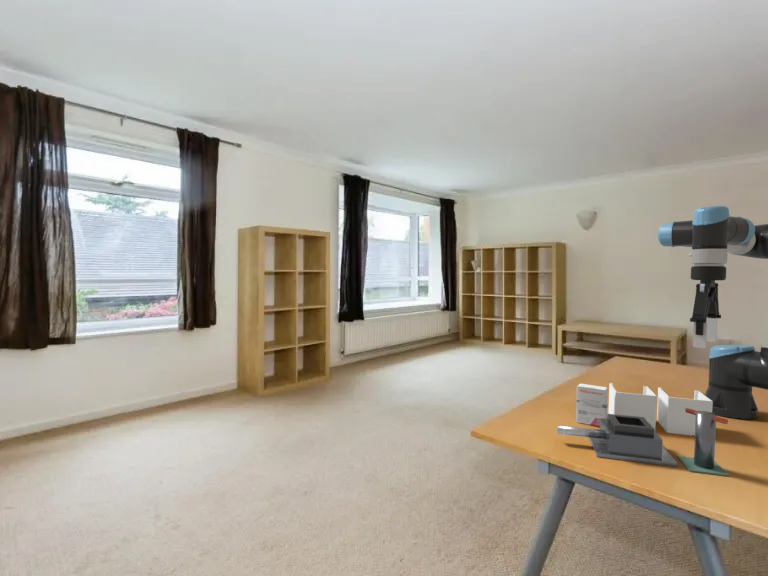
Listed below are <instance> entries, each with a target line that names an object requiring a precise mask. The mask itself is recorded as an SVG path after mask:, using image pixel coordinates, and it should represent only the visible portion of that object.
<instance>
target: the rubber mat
mask: <svg viewBox="0 0 768 576" xmlns="http://www.w3.org/2000/svg"><path fill="white" fill-rule="evenodd" d="M676 457H677V459H678V460H679V461H680V462H681V464H682V465H683V466H684V467H685V469H687V470H688V472H690V473H691V472H692V473H698V474H707V475H714V476H715V475H716V476H722V477H729V478H730V474H729V473H728V472H727V471H726V470H725V469H724V468H723V467H721V466H720V465H719V464H718V463H717V462H716V461H715V460H714V468H713V469H705V468H701V467H698V466H696V465H695V464H694V457H690V456H681V455H677V456H676Z"/></svg>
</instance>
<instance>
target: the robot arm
mask: <svg viewBox="0 0 768 576" xmlns="http://www.w3.org/2000/svg"><path fill="white" fill-rule="evenodd" d="M692 217H693V218H692V220H684V221H683V220H681V221H671V222H664V223H663V224H661V225H660V227H659V228H658V230H657V231H658V232H657V239H658V242H659V244H660V245H661V246H663V247H670V248H675V247H685V248H691V252H690V253H688V256H689V257H691V262H690V263H691V264H692V265H693V266H691V267H690V279H691V280H693V281H699V283H696V285H695V297H694V304H693V310H692V314H691V315H692V316H691V317H690V318H689V321H690V322H692V323H693V329H692V330H693V331H692V334H693V335H692V347H693V348H698V349H707V342H710V343H717V337H718V335H717V333H718V319H721V318H722V314H720V308H719V307H720V306H719V305H720V304H719V283H718V282H716V281H725V280H726V279H727V267H726V266H725V265H726V264H727V263H728V254H730V255H735V256H741V257H747V258H752V259H761V260H762V259H764V260H768V223H765V224H764V223H763V224H757V225H755V224H754V223H753V221H751V220H750V219H747V218H746V217H741V216H731V214H730V211H729V208H728V206H726V205H712V206H703V207H698V208H696V209H695V210H694V211H693V215H692ZM708 361H709V363H708V386H707V389H706V390H705V393H704V395H705V396H706V397H708V398H709V399H710V400H712V401H713V406H712V413H714V414H716V416H719V417H720V416H721V417H724V416H725V418H730V417H731V418H732V419H737V418H741V419H740V420H751V419H750V418H756V417H758V418H759V408H758V406H757V403H756V400H755V398H754V394H753V388H758V389H762V390H767V391H768V341H767V342H766V343H764V344H762V345H761V346H760V351H756V349H755V347H754V345H750V344H749V345H748V344H718V345H714V346H712V347H710V350H709V356H708ZM731 418H730V419H731ZM756 419H757V418H756Z"/></svg>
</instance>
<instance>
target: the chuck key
mask: <svg viewBox="0 0 768 576" xmlns="http://www.w3.org/2000/svg"><path fill="white" fill-rule="evenodd" d="M685 412H686V413H689V414H693V415H696V420H695V436H694V444H693V445H694V447H693V448H694V450H693V451H694V452H693V458H694V464H695V465H696V466H698V467H701V468H705V469H713V468H714V461H715V452H716V430H717V428H716V426H717V423H719V424H722V425H723V424H724V425H728V423H729V420H728V419H726V418H723V417H720V416H718V415H716V414H714V413H711V412H707V411H696V410H693V409H689V408H686V409H685Z"/></svg>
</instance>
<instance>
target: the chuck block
mask: <svg viewBox="0 0 768 576" xmlns="http://www.w3.org/2000/svg"><path fill="white" fill-rule="evenodd" d="M556 434H557V435H562V436H563V435H564V436H570V437H571V436H572V437H578V438H579V437H581V438H588V440H589V442H590V445H591V446H592V449H593V451H594V453H595V456H596V457H597V458H605V459H612V460H620V461H621V460H622V461H628V462H637V463H643V464H644V463H646V464H650V465H651V464H652V465H653V464H654V465H660V466H661V465H662V466H670V467H678V462H677V461H676V459H675V458H674V457H673V456H672V454H670V452H669V451H668V450H667V449H666V448H665V447H664V444H663V443H664V442H663V438H662V437H661V436H660V435H659V434H658V433H657V431H656V430H655V431H654V428H653V427H652V426H651V425H650V424H649V423H648V422H647V420H646V419H645V418H644V417H636V416H626V415H615V414H608V415H607V419H602V418H600V427H599V429H596V428H589V427H588V428H587V427H580V426H579V427H578V426H569V425H568V426H567V425H562V424H561V425H559V424H558V425H557V426H556Z"/></svg>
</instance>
